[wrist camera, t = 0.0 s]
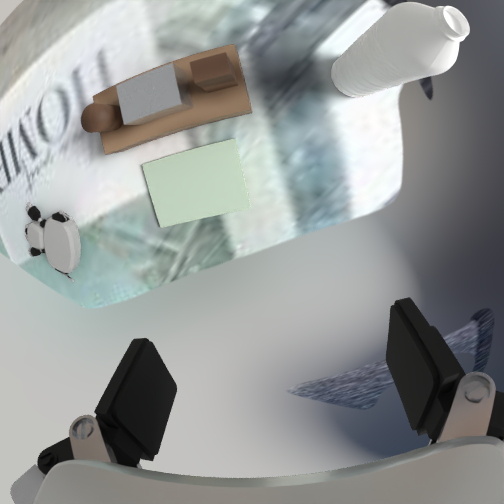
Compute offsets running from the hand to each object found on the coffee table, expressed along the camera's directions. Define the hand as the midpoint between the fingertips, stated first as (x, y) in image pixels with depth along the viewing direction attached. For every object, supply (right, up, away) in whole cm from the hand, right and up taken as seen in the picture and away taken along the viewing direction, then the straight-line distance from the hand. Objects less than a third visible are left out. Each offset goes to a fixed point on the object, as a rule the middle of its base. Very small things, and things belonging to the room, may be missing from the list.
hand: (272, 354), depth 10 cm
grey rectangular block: (-12, +23, +19) cm, 32 cm away
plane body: (-11, +25, +24) cm, 36 cm away
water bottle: (+12, +29, +21) cm, 38 cm away
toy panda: (-37, +7, +34) cm, 51 cm away
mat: (-9, +13, +29) cm, 33 cm away
